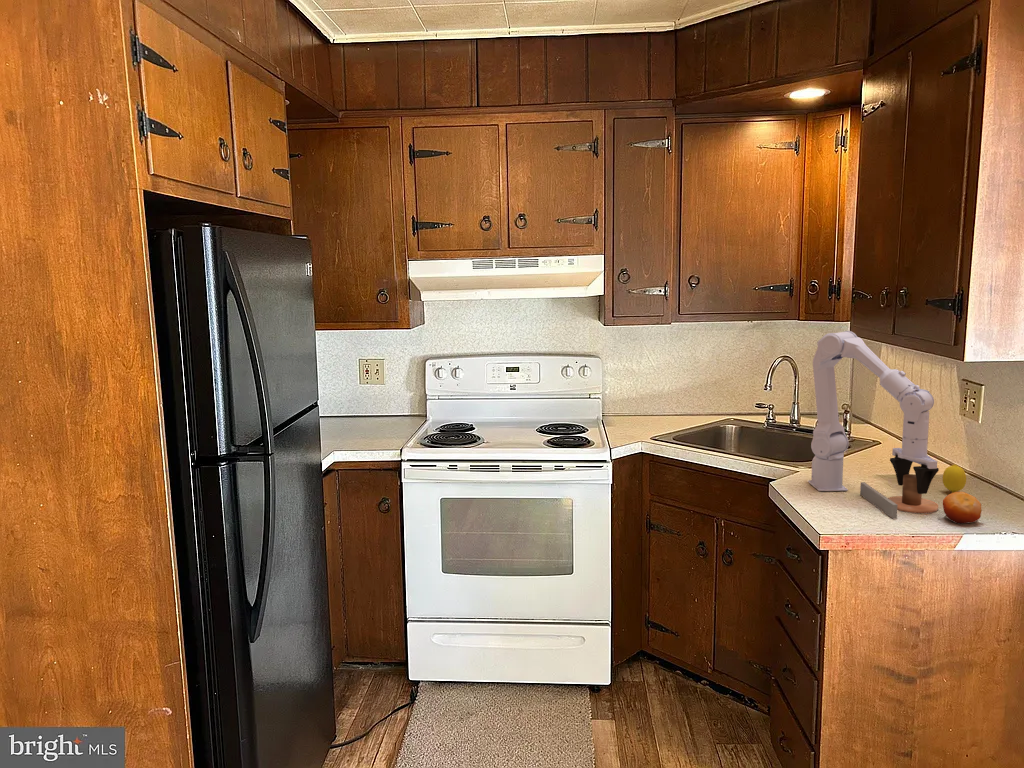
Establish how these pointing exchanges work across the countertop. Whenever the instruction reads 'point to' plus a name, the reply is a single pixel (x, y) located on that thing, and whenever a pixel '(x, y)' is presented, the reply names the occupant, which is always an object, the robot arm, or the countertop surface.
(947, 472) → the lemon
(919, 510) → the saucer
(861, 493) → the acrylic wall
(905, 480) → the walnut cylinder
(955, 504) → the fruit
